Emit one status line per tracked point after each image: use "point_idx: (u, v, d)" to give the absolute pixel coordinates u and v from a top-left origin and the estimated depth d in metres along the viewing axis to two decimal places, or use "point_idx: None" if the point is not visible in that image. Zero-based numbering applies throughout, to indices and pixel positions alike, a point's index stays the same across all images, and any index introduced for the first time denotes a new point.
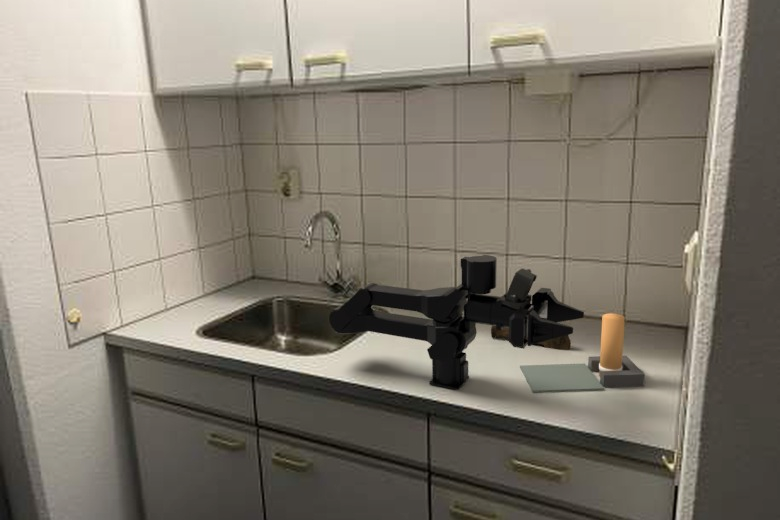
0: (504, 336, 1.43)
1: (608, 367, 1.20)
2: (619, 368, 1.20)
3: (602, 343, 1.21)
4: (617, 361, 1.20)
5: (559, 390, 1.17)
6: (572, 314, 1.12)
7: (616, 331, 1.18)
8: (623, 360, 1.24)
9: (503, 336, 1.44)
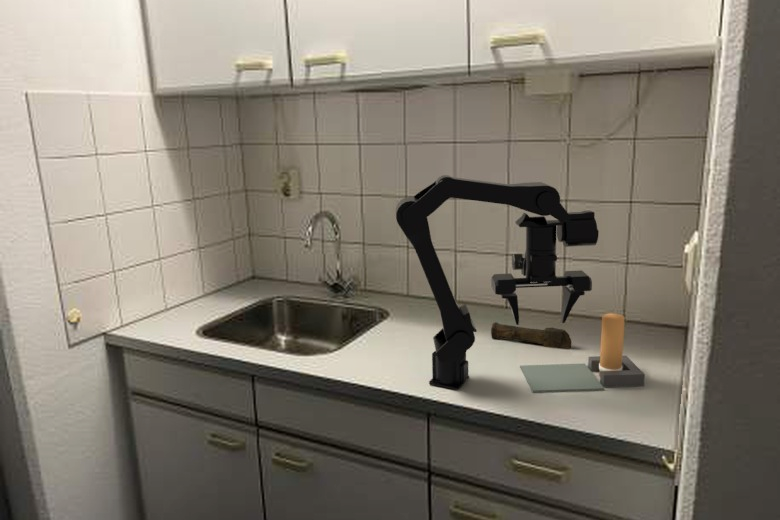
0: (504, 336, 1.43)
1: (608, 367, 1.20)
2: (619, 368, 1.20)
3: (602, 343, 1.21)
4: (617, 361, 1.20)
5: (559, 390, 1.17)
6: None
7: (616, 331, 1.18)
8: (623, 360, 1.24)
9: (503, 336, 1.44)
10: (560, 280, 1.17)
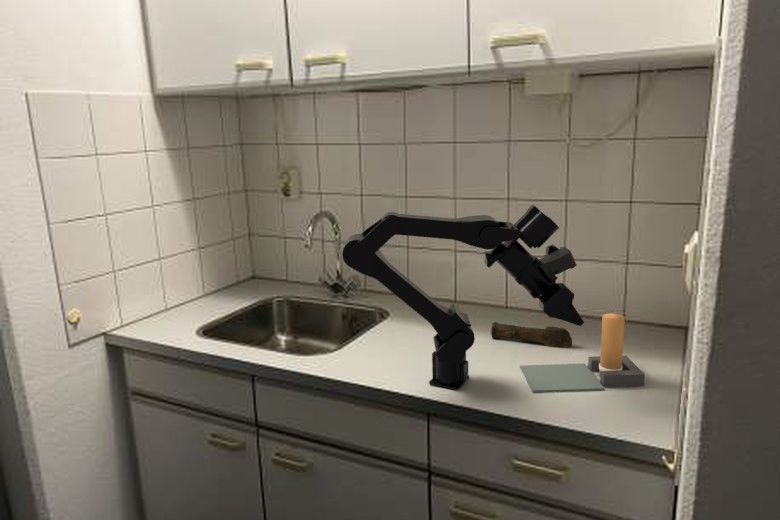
0: (505, 336, 1.43)
1: (608, 367, 1.20)
2: (619, 368, 1.20)
3: (602, 343, 1.21)
4: (617, 361, 1.20)
5: (559, 390, 1.17)
6: None
7: (616, 331, 1.18)
8: (623, 360, 1.24)
9: (504, 336, 1.43)
10: None
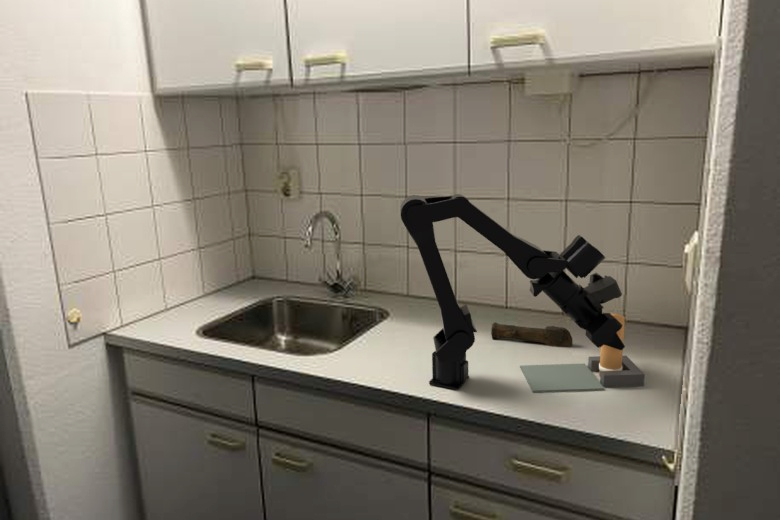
0: (505, 336, 1.43)
1: (608, 367, 1.20)
2: (619, 368, 1.20)
3: None
4: (617, 361, 1.20)
5: (559, 390, 1.17)
6: None
7: None
8: (623, 360, 1.24)
9: (504, 336, 1.43)
10: None
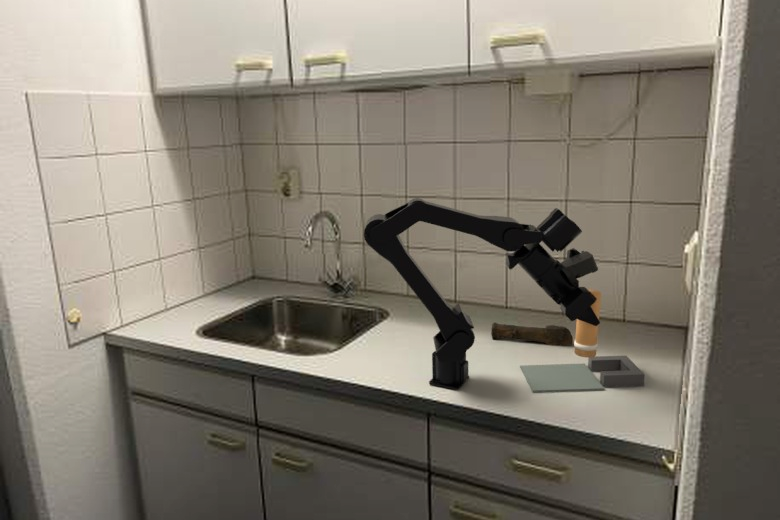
0: (505, 336, 1.43)
1: (583, 343, 1.19)
2: (594, 344, 1.19)
3: None
4: (592, 337, 1.18)
5: (559, 390, 1.17)
6: None
7: (592, 306, 1.17)
8: (623, 360, 1.24)
9: (504, 336, 1.43)
10: None
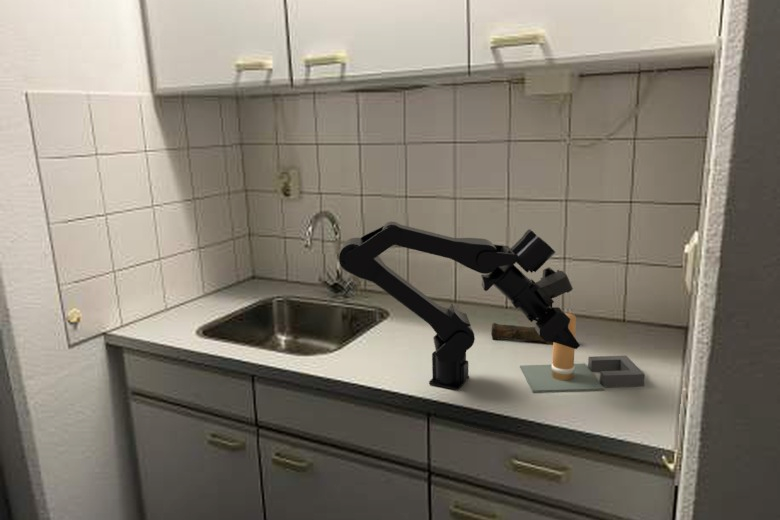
0: (505, 336, 1.43)
1: (560, 367, 1.20)
2: (571, 368, 1.20)
3: (554, 343, 1.20)
4: (568, 360, 1.20)
5: (559, 390, 1.17)
6: None
7: None
8: (623, 360, 1.24)
9: (504, 336, 1.43)
10: None
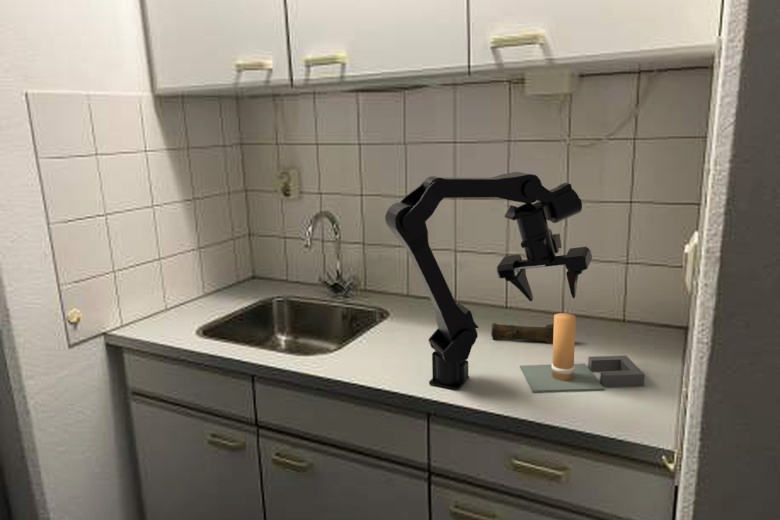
0: (505, 336, 1.43)
1: (560, 367, 1.20)
2: (571, 368, 1.20)
3: (554, 343, 1.20)
4: (568, 360, 1.20)
5: (559, 390, 1.17)
6: (529, 292, 1.28)
7: (567, 331, 1.18)
8: (623, 360, 1.24)
9: (505, 336, 1.43)
10: (559, 260, 1.21)
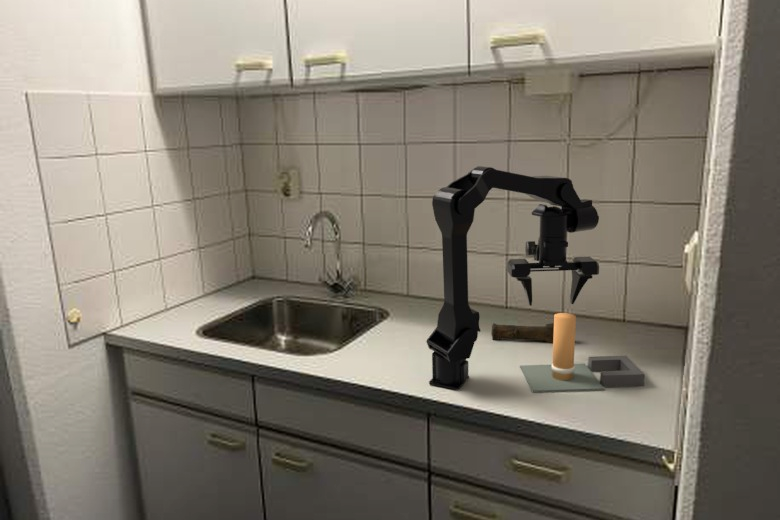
0: (506, 336, 1.43)
1: (560, 366, 1.20)
2: (571, 368, 1.20)
3: (554, 342, 1.21)
4: (568, 360, 1.20)
5: (559, 390, 1.17)
6: None
7: (567, 330, 1.18)
8: (623, 360, 1.24)
9: (505, 336, 1.43)
10: (570, 265, 1.29)
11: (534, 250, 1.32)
